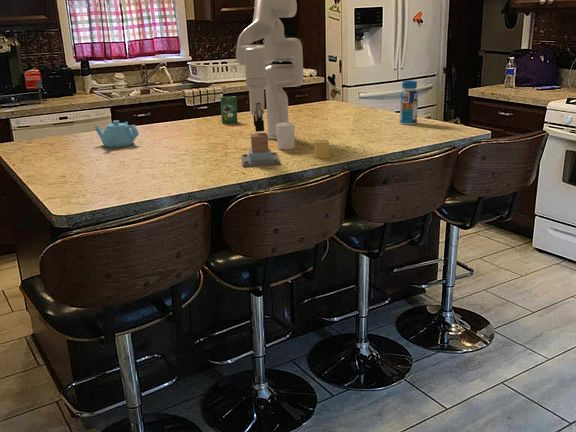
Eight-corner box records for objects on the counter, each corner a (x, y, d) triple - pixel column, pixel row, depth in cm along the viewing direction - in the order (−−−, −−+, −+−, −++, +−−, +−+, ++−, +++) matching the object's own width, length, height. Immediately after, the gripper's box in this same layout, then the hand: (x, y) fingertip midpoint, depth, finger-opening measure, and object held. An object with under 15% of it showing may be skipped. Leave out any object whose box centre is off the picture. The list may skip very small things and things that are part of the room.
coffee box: (237, 121, 313) (235, 95, 309) (238, 122, 311) (236, 96, 306) (221, 122, 312) (219, 96, 307) (222, 123, 309) (220, 97, 305)
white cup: (279, 151, 247) (278, 126, 243) (274, 147, 254) (273, 123, 251) (297, 149, 249) (297, 124, 245) (292, 145, 256) (291, 121, 252)
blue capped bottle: (396, 122, 294) (397, 80, 288) (411, 121, 297) (413, 79, 290) (404, 125, 287) (405, 82, 280) (420, 124, 289) (422, 81, 282)
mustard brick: (314, 155, 238) (314, 140, 236) (327, 154, 238) (326, 139, 236) (316, 158, 233) (316, 143, 231) (329, 157, 233) (329, 142, 231)
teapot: (107, 150, 259) (103, 125, 255) (96, 144, 271) (92, 120, 267) (141, 145, 267) (138, 120, 263) (129, 139, 279) (126, 116, 275)
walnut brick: (251, 149, 232) (250, 133, 231) (267, 148, 233) (266, 132, 231) (252, 152, 227) (251, 136, 225) (268, 151, 227) (267, 135, 225)
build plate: (241, 158, 237) (240, 147, 236) (276, 155, 238) (276, 145, 237) (242, 166, 224) (242, 155, 223) (280, 164, 225) (279, 153, 224)
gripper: (245, 79, 229) (247, 124, 236) (247, 86, 213) (250, 134, 220) (264, 78, 230) (267, 122, 236) (268, 85, 214) (270, 133, 220)
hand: (259, 128), depth 228 cm, fingers open, 9 cm apart
